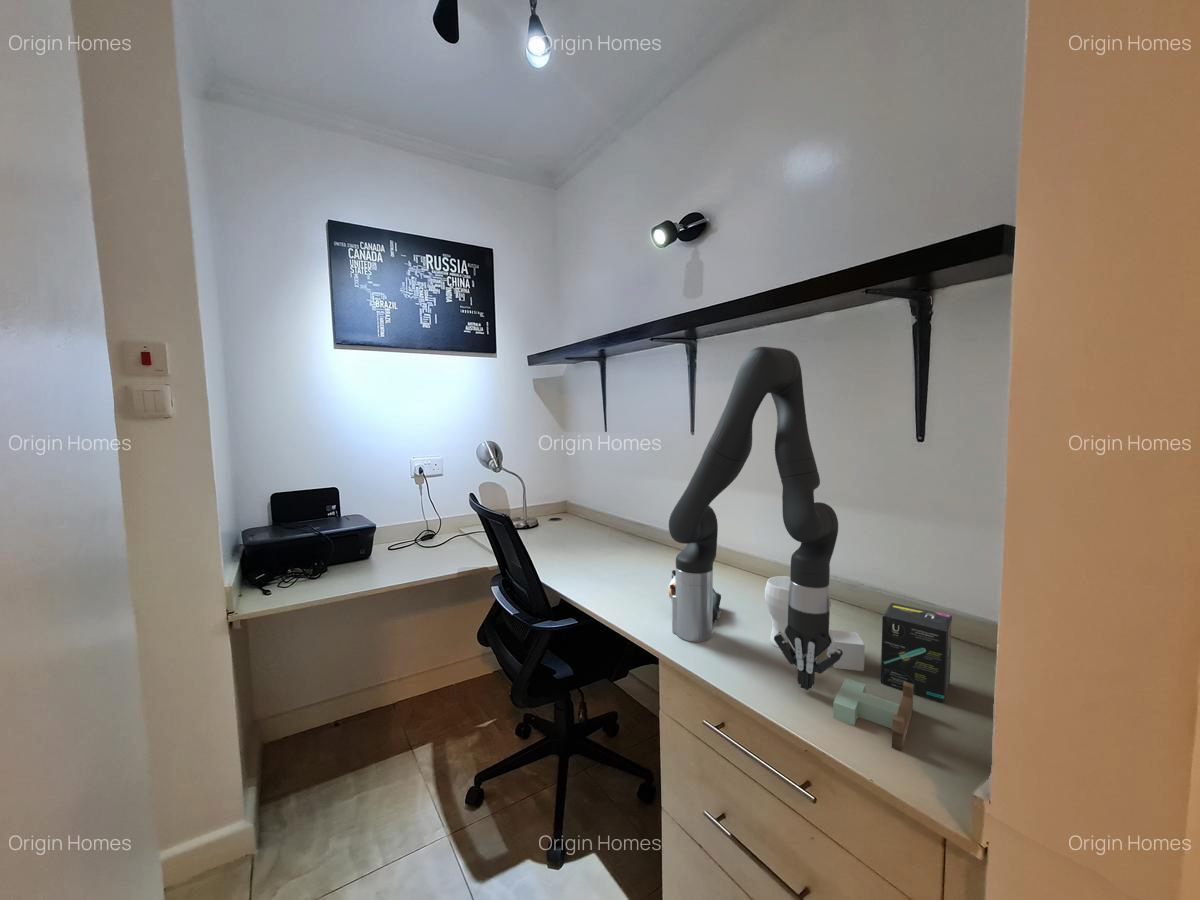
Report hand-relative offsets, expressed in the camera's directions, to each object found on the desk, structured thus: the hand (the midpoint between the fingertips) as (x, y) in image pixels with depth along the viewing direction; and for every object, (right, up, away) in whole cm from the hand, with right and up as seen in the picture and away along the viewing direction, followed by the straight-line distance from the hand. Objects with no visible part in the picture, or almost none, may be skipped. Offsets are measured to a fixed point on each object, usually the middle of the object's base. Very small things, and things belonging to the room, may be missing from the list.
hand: (805, 687), depth 93 cm
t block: (+8, -1, -7) cm, 11 cm away
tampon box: (+24, -1, +3) cm, 24 cm away
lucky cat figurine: (-15, +1, +36) cm, 39 cm away
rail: (+12, -2, -11) cm, 16 cm away
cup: (+4, 0, +20) cm, 21 cm away
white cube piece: (+14, 0, +11) cm, 18 cm away
